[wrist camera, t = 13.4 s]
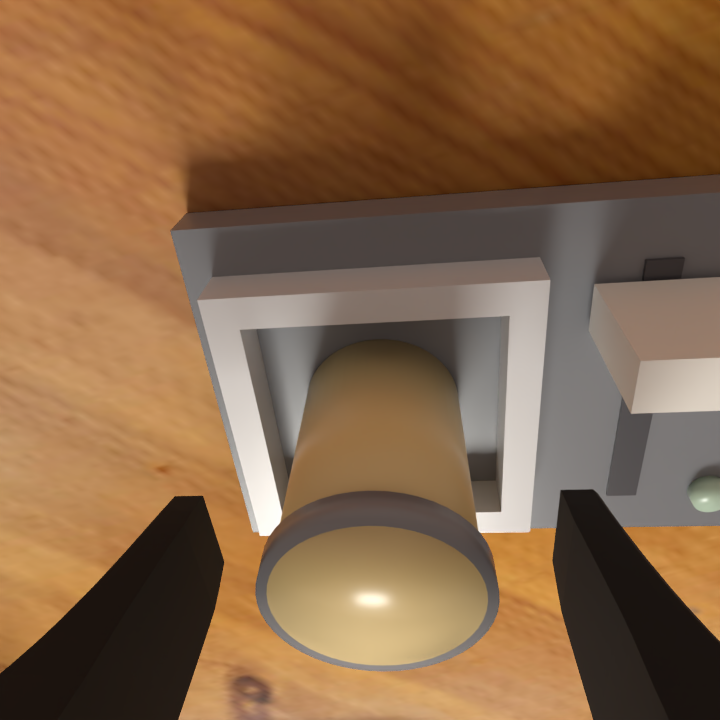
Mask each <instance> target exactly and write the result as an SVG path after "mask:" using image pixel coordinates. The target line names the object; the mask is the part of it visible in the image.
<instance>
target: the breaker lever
mask: <svg viewBox="0 0 720 720" xmlns="http://www.w3.org/2000/svg"><path fill="white" fill-rule="evenodd" d="M589 332H590V334H591V336H592V338H593V340H594V342H595V344H596V346H597V348H598V350H599V352H600V354H601V356H602V358H603V360H604V362H605V364H606V366H607V368H608V370H609V372H610V374H611V375H612V377H613V379H614V381H615V383H616V385H617V387H618V389H619V391H620V393H621V395H622V397H623V399H624V401H625V403H626V405H627V407H628V409H629V411H630V413H631V414H638V413H668V412H698V411H720V277H711V278H693V279H675V280H657V281H639V282H621V283H603V284H594V290H593V298H592V306H591V314H590V322H589Z"/></svg>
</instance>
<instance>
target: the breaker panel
mask: <svg viewBox="0 0 720 720" xmlns="http://www.w3.org/2000/svg"><path fill="white" fill-rule="evenodd" d="M171 235H172V239H173V242H174V246H175V250H176V253H177V257H178V260H179V264H180V268H181V271H182V275H183V279H184V282H185V286H186V290H187V293H188V297H189V300H190V304H191V308H192V311H193V315H194V319H195V322H196V326H197V330H198V333H199V337H200V340H201V344H202V348H203V351H204V355H205V359H206V362H207V366H208V370H209V373H210V377H211V380H212V384H213V388H214V391H215V395H216V399H217V402H218V406H219V410H220V413H221V417H222V420H223V424H224V428H225V431H226V435H227V439H228V442H229V446H230V449H231V453H232V457H233V460H234V464H235V468H236V471H237V475H238V479H239V482H240V486H241V489H242V493H243V497H244V500H245V504H246V508H247V511H248V515H249V519H250V522H251V526H252V529H253V532H259V533H260V536H270V535H271V533H272V532H273V530H274V529H275V528H276V527H277V526H278V525H279V524H280V521H281V516H282V511H283V507H284V502H285V497H286V492H287V488H288V483H289V478H290V473H291V469H292V464H293V459H294V454H295V450H296V445H297V440H298V435H299V431H300V426H301V421H302V416H303V412H304V407H305V402H306V397H307V393H308V388H309V384H310V382H311V379H312V377H313V375H314V373H315V372H316V370H317V369H318V367H319V366H320V365H321V364H322V363H323V362H324V361H325V360H326V359H327V358H328V357H329V356H330V355H332V354H333V353H335V352H336V351H338V350H340V349H342V348H344V347H346V346H348V345H351V344H354V343H357V342H362V341H366V340H375V339H389V340H397V341H402V342H406V343H409V344H412V345H415V346H418V347H420V348H422V349H424V350H425V351H427V352H429V353H430V354H432V355H433V356H435V357H436V358H437V359H438V360H439V361H440V362H441V363H442V364H443V365H444V366H445V367H446V368H447V370H448V371H449V373H450V374H451V376H452V377H453V380H454V382H455V385H456V388H457V392H458V398H459V405H460V411H461V418H462V425H463V431H464V438H465V445H466V451H467V458H468V465H469V472H470V478H471V485H472V492H473V498H474V505H475V512H476V518H477V525H478V531H479V532H480V533H501V532H530V528H556V526H557V517H558V508H559V499H560V491H561V490H580V489H593V490H595V491H596V492H597V493H598V494H599V496H600V497H601V498H602V500H603V501H604V503H605V504H606V506H607V507H608V508H609V510H610V511H611V513H612V514H613V515H614V517H615V518H616V520H617V521H618V522H619V524H620V525H621V526H622V527H659V526H720V411H698V412H668V413H638V414H631V413H630V411H629V409H628V407H627V405H626V403H625V401H624V399H623V397H622V395H621V393H620V391H619V389H618V387H617V385H616V383H615V381H614V379H613V377H612V375H611V374H610V372H609V370H608V368H607V366H606V364H605V362H604V360H603V358H602V356H601V354H600V352H599V350H598V348H597V346H596V344H595V342H594V340H593V338H592V336H591V334H590V332H589V322H590V314H591V306H592V298H593V290H594V284H603V283H621V282H639V281H657V280H675V279H693V278H711V277H720V174H716V175H703V176H689V177H675V178H662V179H648V180H634V181H621V182H607V183H593V184H580V185H566V186H552V187H538V188H525V189H511V190H497V191H484V192H470V193H456V194H443V195H429V196H415V197H402V198H388V199H374V200H360V201H347V202H333V203H319V204H306V205H292V206H278V207H265V208H251V209H237V210H223V211H210V212H196V213H186V214H185V215H184V216H183V218H182V219H181V220H180V221H179V222H178V223H177V224H176V225H175V226H174V227H173V228H172V230H171Z"/></svg>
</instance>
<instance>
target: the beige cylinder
mask: <svg viewBox="0 0 720 720" xmlns="http://www.w3.org/2000/svg"><path fill="white" fill-rule="evenodd" d="M256 599H257V604H258V607H259V610H260V612H261V614H262V616H263V618H264V619H265V621H266V623H267V624H268V625H269V626H270V627H271V629H272V630H273V631H274V632H275V633H276V634H277V635H278V636H279V637H280V638H281V639H283V640H284V641H285V642H287V643H288V644H289V645H291V646H292V647H294V648H296V649H297V650H299V651H301V652H303V653H305V654H307V655H309V656H311V657H313V658H316V659H318V660H321V661H324V662H327V663H330V664H334V665H337V666H341V667H346V668H352V669H358V670H367V671H401V670H410V669H416V668H421V667H426V666H429V665H433V664H437V663H440V662H442V661H445V660H448V659H450V658H452V657H454V656H456V655H458V654H460V653H462V652H464V651H465V650H467V649H468V648H470V647H471V646H473V645H474V644H475V643H476V642H478V641H479V640H480V639H481V638H482V637H483V636H484V635H485V633H486V632H487V631H488V630H489V628H490V627H491V625H492V624H493V622H494V620H495V617H496V615H497V612H498V607H499V588H498V582H497V576H496V570H495V564H494V560H493V556H492V552H491V550H490V548H489V546H488V544H487V542H486V541H485V539H484V538H483V536H482V535H481V533H480V532H479V531H478V525H477V518H476V512H475V505H474V498H473V492H472V485H471V478H470V472H469V465H468V458H467V451H466V445H465V438H464V431H463V425H462V418H461V411H460V405H459V398H458V392H457V388H456V385H455V382H454V380H453V377H452V376H451V374H450V373H449V371H448V370H447V368H446V367H445V366H444V365H443V364H442V363H441V362H440V361H439V360H438V359H437V358H436V357H435V356H433V355H432V354H430V353H429V352H427V351H425V350H424V349H422V348H420V347H418V346H415V345H412V344H409V343H406V342H402V341H397V340H389V339H375V340H366V341H362V342H357V343H354V344H351V345H348V346H346V347H344V348H342V349H340V350H338V351H336V352H335V353H333V354H332V355H330V356H329V357H328V358H327V359H326V360H325V361H324V362H323V363H322V364H321V365H320V366H319V367H318V369H317V370H316V372H315V373H314V375H313V377H312V379H311V382H310V384H309V388H308V393H307V397H306V402H305V407H304V412H303V416H302V421H301V426H300V431H299V435H298V440H297V445H296V450H295V454H294V459H293V464H292V469H291V473H290V478H289V483H288V488H287V492H286V497H285V502H284V507H283V511H282V516H281V521H280V524H279V525H278V526H277V527H276V528H275V529H274V530H273V532H272V533H271V535H270V536H269V538H268V540H267V542H266V544H265V546H264V551H263V555H262V559H261V563H260V568H259V572H258V576H257V581H256Z"/></svg>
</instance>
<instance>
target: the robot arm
mask: <svg viewBox="0 0 720 720" xmlns="http://www.w3.org/2000/svg"><path fill="white" fill-rule="evenodd" d="M223 566H224V560H223V556H222V553H221V550H220V547H219V544H218V541H217V538H216V535H215V532H214V529H213V525H212V522H211V519H210V516H209V513H208V510H207V507H206V504H205V501H204V498H203V496H175V497H174V498H173V499H172V500H171V501H170V502H169V503H168V505H167V506H166V507H165V508H164V509H163V510H162V511H161V512H160V513H159V515H158V516H157V517H156V518H155V519H154V520H153V521H152V522H151V524H150V525H149V526H148V527H147V528H146V529H145V530H144V532H143V533H142V534H141V535H140V536H139V537H138V538H137V539H136V541H135V542H134V543H133V544H132V545H131V546H130V547H129V548H128V550H127V551H126V552H125V553H124V554H123V555H122V556H121V557H120V558H119V559H118V561H117V562H116V563H115V564H114V565H113V566H112V567H111V568H110V569H109V570H108V571H107V572H106V574H105V575H104V576H103V577H102V578H101V579H100V580H99V581H98V582H97V583H96V584H95V585H94V586H93V587H92V588H91V590H90V591H89V592H88V593H87V594H86V595H85V596H84V597H83V598H82V599H81V600H80V601H79V602H78V603H77V604H76V605H75V606H74V607H73V608H72V609H71V610H70V611H69V612H68V613H67V614H66V615H65V616H64V617H63V618H62V619H61V620H60V621H59V622H58V623H57V624H56V625H54V626H53V627H52V628H51V629H50V630H49V631H48V632H47V633H46V634H45V635H44V636H43V637H42V638H41V639H39V640H38V641H37V642H36V643H35V644H34V645H33V646H32V647H31V648H29V649H28V650H27V651H26V652H25V653H24V654H23V655H21V656H20V657H19V658H18V659H17V660H16V661H15V662H13V663H12V664H11V665H10V666H9V667H8V668H6V669H5V670H4V671H3V672H2V673H0V720H178V718H179V715H180V712H181V709H182V706H183V704H184V701H185V698H186V695H187V692H188V689H189V686H190V683H191V680H192V677H193V674H194V671H195V668H196V665H197V662H198V659H199V656H200V653H201V650H202V647H203V644H204V641H205V638H206V635H207V632H208V629H209V626H210V623H211V619H212V616H213V613H214V610H215V605H216V601H217V596H218V592H219V587H220V582H221V576H222V571H223ZM553 566H554V572H555V577H556V583H557V589H558V594H559V600H560V605H561V611H562V614H563V618H564V622H565V625H566V628H567V632H568V635H569V639H570V642H571V646H572V649H573V652H574V656H575V659H576V663H577V666H578V669H579V673H580V676H581V679H582V683H583V686H584V690H585V693H586V696H587V700H588V703H589V707H590V710H591V713H592V717H593V720H720V641H719V640H718V639H717V638H716V637H715V636H714V635H713V634H712V633H711V632H710V631H709V630H708V629H707V628H706V627H705V625H704V624H703V623H702V622H701V621H700V620H699V619H698V618H697V617H696V616H695V615H694V614H693V612H692V611H691V610H690V609H689V608H688V607H687V606H686V605H685V604H684V602H683V601H682V600H681V599H680V598H679V597H678V596H677V594H676V593H675V592H674V591H673V590H672V589H671V588H670V586H669V585H668V584H667V583H666V582H665V580H664V579H663V578H662V577H661V576H660V574H659V573H658V572H657V571H656V570H655V568H654V567H653V566H652V565H651V564H650V562H649V561H648V560H647V559H646V557H645V556H644V555H643V554H642V552H641V551H640V550H639V549H638V547H637V546H636V545H635V543H634V542H633V541H632V539H631V538H630V537H629V536H628V534H627V533H626V532H625V530H624V529H623V528H622V526H621V525H620V524H619V522H618V521H617V520H616V518H615V517H614V515H613V514H612V513H611V511H610V510H609V508H608V507H607V506H606V504H605V503H604V501H603V500H602V498H601V497H600V496H599V494H598V493H597V492H596V491H595V490H593V489H580V490H561V491H560V499H559V508H558V517H557V526H556V535H555V543H554V552H553Z"/></svg>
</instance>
